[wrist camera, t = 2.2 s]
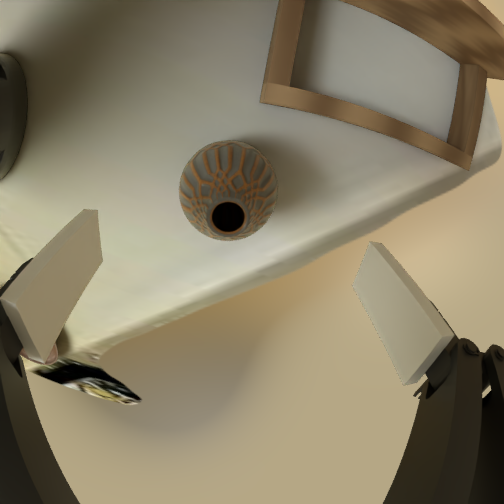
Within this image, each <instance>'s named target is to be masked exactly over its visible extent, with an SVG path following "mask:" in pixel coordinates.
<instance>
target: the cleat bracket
mask: <svg viewBox="0 0 504 504" xmlns="http://www.w3.org/2000/svg"><path fill="white" fill-rule="evenodd" d="M340 1H343V2H346V3H349V4H351V5H354V6H356V7H359V8H361V9H364V10H366V11H369V12H371V13H373V14H375V15H378V16H380V17H382V18H384V19H386V20H388V21H390V22H392V23H394V24H396V25H398V26H400V27H402V28H404V29H406V30H408V31H410V32H411V33H413V34H415V35H417V36H418V37H420V38H422V39H424V40H425V41H427V42H428V43H430V44H432V45H433V46H435V47H436V48H438V49H439V50H441V51H442V52H444V53H445V54H447V55H448V56H450V57H451V58H453V59H454V60H455V61H457V62H458V63H460V71H459V79H458V86H457V93H456V99H455V105H454V111H453V116H452V121H451V125H450V130H449V134H448V139H447V143H446V142H444V141H442V140H440V139H438V138H436V137H434V136H432V135H430V134H428V133H426V132H423V131H421V130H419V129H417V128H415V127H413V126H410V125H408V124H406V123H403V122H401V121H399V120H396V119H394V118H391V117H389V116H386V115H383V114H381V113H378V112H375V111H373V110H370V109H367V108H364V107H361V106H358V105H355V104H352V103H349V102H346V101H343V100H339V99H336V98H333V97H329V96H326V95H322V94H318V93H314V92H310V91H306V90H302V89H298V88H293V87H289V85H290V80H291V75H292V69H293V64H294V59H295V53H296V48H297V43H298V38H299V32H300V27H301V21H302V16H303V11H304V5H305V0H279V3H278V8H277V13H276V18H275V23H274V28H273V33H272V38H271V43H270V49H269V54H268V59H267V64H266V70H265V75H264V80H263V86H262V91H261V97H260V103H266V104H271V105H277V106H282V107H287V108H292V109H296V110H301V111H305V112H310V113H314V114H318V115H322V116H326V117H329V118H333V119H337V120H340V121H344V122H347V123H351V124H354V125H357V126H360V127H364V128H367V129H370V130H373V131H376V132H378V133H381V134H384V135H387V136H390V137H392V138H395V139H398V140H400V141H403V142H405V143H408V144H411V145H413V146H415V147H418V148H420V149H423V150H425V151H427V152H429V153H432V154H434V155H436V156H438V157H440V158H443V159H445V160H447V161H449V162H451V163H453V164H455V165H457V166H460V167H462V168H464V169H466V170H468V171H469V168H470V165H471V161H472V158H473V154H474V150H475V146H476V141H477V137H478V132H479V127H480V122H481V117H482V111H483V105H484V98H485V90H486V81H487V78H492V79H499V80H504V25H503V24H502V23H501V22H500V21H499V20H498V19H497V18H496V17H495V16H494V15H493V14H492V13H491V12H490V11H489V10H488V9H487V8H486V7H485V6H484V5H483V4H482V3H480V2H479V1H478V0H340Z"/></svg>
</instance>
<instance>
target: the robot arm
mask: <svg viewBox="0 0 504 504" xmlns="http://www.w3.org/2000/svg"><path fill="white" fill-rule="evenodd" d="M26 116H27V90H26V83H25V78H24V75H23V72H22V69H21V67H20V65H19V64H18V62H17V61H16V60H15V59H14V58H13V57H12V56H10V55H8V54H3V53H0V179H2V178H3V177H4V176H5V175H6V174H7V172H8V171H9V170H10V168H11V167H12V165H13V163H14V161H15V159H16V157H17V155H18V152H19V149H20V146H21V143H22V139H23V135H24V130H25V124H26ZM102 262H103V259H102V251H101V243H100V233H99V223H98V210H88V209H84V210H83V211H81V212H80V213H79V214H78V215H77V216H76V217H75V218H74V219H73V220H71V221H70V222H69V223H68V224H67V225H66V226H65V227H64V228H63V229H62V230H61V231H60V232H59V233H58V234H57V235H56V236H55V237H54V238H53V239H52V240H51V241H50V242H49V243H48V244H47V245H46V246H45V247H44V248H43V249H42V250H41V251H40V252H39V253H38V254H37V255H36V256H35V257H34V258H31V259H30V260H28V261H27V262H25V263H23V264H22V265H21V266H20V267H19V269H18V270H17V271H16V273H14V274H13V275H12V276H11V278H10V280H8V281H7V282H6V284H5V285H4V286H3V287H2V288H1V290H0V504H80V503H79V501H78V500H77V498H76V496H75V495H74V493H73V491H72V490H71V488H70V486H69V484H68V482H67V481H66V479H65V477H64V475H63V473H62V471H61V469H60V467H59V465H58V463H57V461H56V459H55V457H54V454H53V452H52V450H51V448H50V445H49V443H48V441H47V438H46V436H45V433H44V431H43V428H42V425H41V423H40V420H39V417H38V414H37V411H36V408H35V405H34V402H33V398H32V395H31V392H30V388H29V384H28V381H27V377H26V373H25V368H24V364H23V360H22V358H21V356H20V352H21V350H22V348H24V350H25V351H26V353H27V355H28V357H29V358H31V359H33V360H36V361H39V362H42V363H45V362H46V360H47V358H48V356H49V354H50V352H51V350H52V348H53V346H54V344H55V342H56V340H57V338H58V336H59V334H60V332H61V330H62V328H63V326H64V324H65V323H66V321H67V319H68V317H69V315H70V314H71V312H72V310H73V308H74V307H75V305H76V303H77V301H78V300H79V298H80V296H81V295H82V293H83V291H84V290H85V288H86V286H87V285H88V283H89V282H90V280H91V278H92V277H93V275H94V274H95V272H96V271H97V269H98V268H99V266H100V265H101V263H102ZM352 287H353V288H354V290H355V292H356V294H357V295H358V297H359V299H360V301H361V303H362V305H363V306H364V308H365V310H366V312H367V314H368V316H369V317H370V319H371V321H372V323H373V325H374V327H375V329H376V331H377V333H378V334H379V336H380V338H381V340H382V342H383V344H384V346H385V348H386V350H387V352H388V354H389V356H390V358H391V360H392V362H393V365H394V367H395V369H396V371H397V373H398V375H399V377H400V379H401V381H402V384H403V385H408V384H413V383H417V382H418V380H419V379H420V378H421V377H422V376H423V375H424V374H426V376H427V377H428V379H427V380H426V381H425V382H424V383H423V385H422V386H421V387H420V388H419V389H418V390H417V391H416V392H415V394H414V395H413V396H415V397H416V396H417V394H418V393H420V392H422V393H421V395H420V396H419V398H418V399H420V401H419V405H418V409H417V413H416V417H415V420H414V424H413V427H412V431H411V434H410V437H409V440H408V443H407V446H406V449H405V452H404V455H403V457H402V460H401V463H400V465H399V468H398V471H397V473H396V476H395V478H394V480H393V483H392V485H391V487H390V490H389V492H388V494H387V496H386V498H385V500H384V502H383V504H504V349H503V348H501V347H500V346H498V345H491V346H490V347H489V349H488V350H487V351H486V352H485V353H483V352H480V351H479V349H478V347H477V346H476V345H475V344H474V343H473V342H472V341H470V340H469V339H465V338H461V339H458V337H457V336H456V335H455V333H454V331H453V330H452V329H451V327H450V326H449V324H448V323H447V322H446V320H445V319H444V318H443V316H442V315H441V313H440V312H438V309H437V308H436V307H435V305H434V304H433V303H432V302H431V301H430V300H429V299H428V298H427V297H426V296H425V294H424V293H423V292H422V290H421V289H420V288H419V287H418V285H417V284H416V283H415V282H414V280H413V279H412V278H411V277H410V275H409V274H408V273H407V272H406V271H405V269H404V268H403V267H402V266H401V265H400V264H399V262H398V261H397V260H396V259H395V258H394V257H393V255H392V254H391V253H390V252H389V251H388V250H387V249H386V248H385V246H384V245H383V244H382V243H377V242H369V245H368V248H367V250H366V253H365V255H364V258H363V260H362V263H361V266H360V268H359V271H358V273H357V275H356V278H355V280H354V283H353V285H352ZM489 385H490V386H491V391H490V392H489V393H488V394H487V395H486V396H485V397H484V398H482V393H483V391H484V390H485V389H486V388H487V387H488V386H489Z"/></svg>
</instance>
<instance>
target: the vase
mask: <svg viewBox="0 0 504 504" xmlns="http://www.w3.org/2000/svg"><path fill="white" fill-rule="evenodd" d="M277 195H278V185H277V179H276V175H275V172H274V170H273V168H272V166H271V164H270V163H269V161H268V160H267V159H266V157H265V156H264V155H263V154H262V153H261V152H260V151H258V150H257V149H256V148H254V147H252V146H250V145H248V144H246V143H243V142H239V141H233V140H225V141H218V142H215V143H212V144H209V145H207V146H205V147H204V148H202V149H201V150H199V151H198V152H197V153H196V154H195V155H194V156H193V157H192V158H191V159H190V160H189V162H188V163H187V165H186V167H185V168H184V171H183V173H182V176H181V179H180V186H179V197H180V202H181V206H182V209H183V211H184V214H185V215H186V217H187V219H188V220H189V222H190V223H191V224H192V225H193V226H194V227H195V228H196V229H197V230H198V231H200V232H201V233H202V234H204V235H206V236H208V237H210V238H213V239H217V240H223V241H233V240H239V239H243V238H246V237H248V236H250V235H252V234H254V233H255V232H257V231H258V230H259V229H260V228H261V227H263V225H264V224H265V223H266V222H267V221H268V219H269V218H270V216H271V214H272V212H273V210H274V208H275V205H276V201H277Z"/></svg>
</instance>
